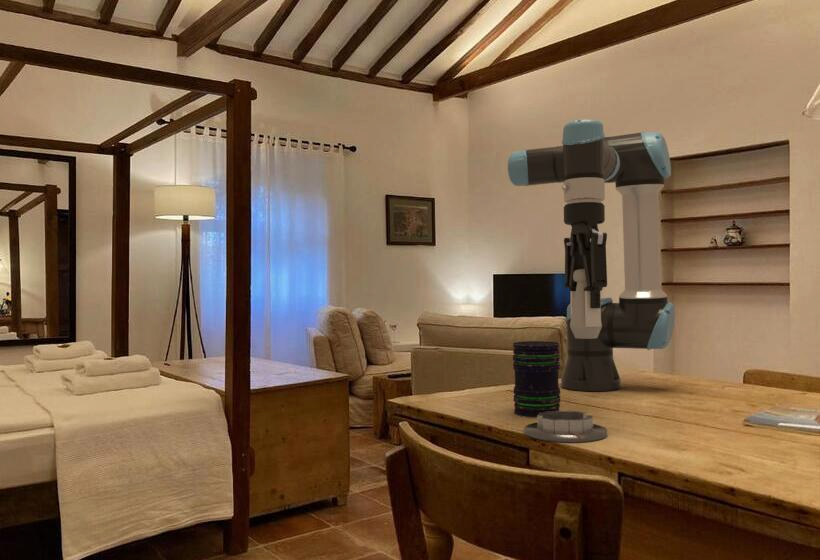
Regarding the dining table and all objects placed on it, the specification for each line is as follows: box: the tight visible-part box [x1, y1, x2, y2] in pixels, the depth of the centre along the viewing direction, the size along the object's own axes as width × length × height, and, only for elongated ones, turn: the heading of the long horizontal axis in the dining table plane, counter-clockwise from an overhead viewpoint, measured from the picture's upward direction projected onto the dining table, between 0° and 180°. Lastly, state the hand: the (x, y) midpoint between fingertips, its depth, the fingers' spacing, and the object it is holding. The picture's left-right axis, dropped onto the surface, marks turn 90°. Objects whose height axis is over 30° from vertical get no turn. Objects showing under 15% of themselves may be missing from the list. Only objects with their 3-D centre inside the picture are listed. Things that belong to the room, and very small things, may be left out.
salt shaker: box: [570, 269, 602, 339], centre depth 131 cm, size 6×6×13 cm
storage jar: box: [512, 340, 561, 418], centre depth 148 cm, size 10×10×15 cm
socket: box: [523, 409, 608, 444], centre depth 128 cm, size 15×15×3 cm
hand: (585, 325), depth 131 cm, fingers closed on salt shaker, 6 cm apart
